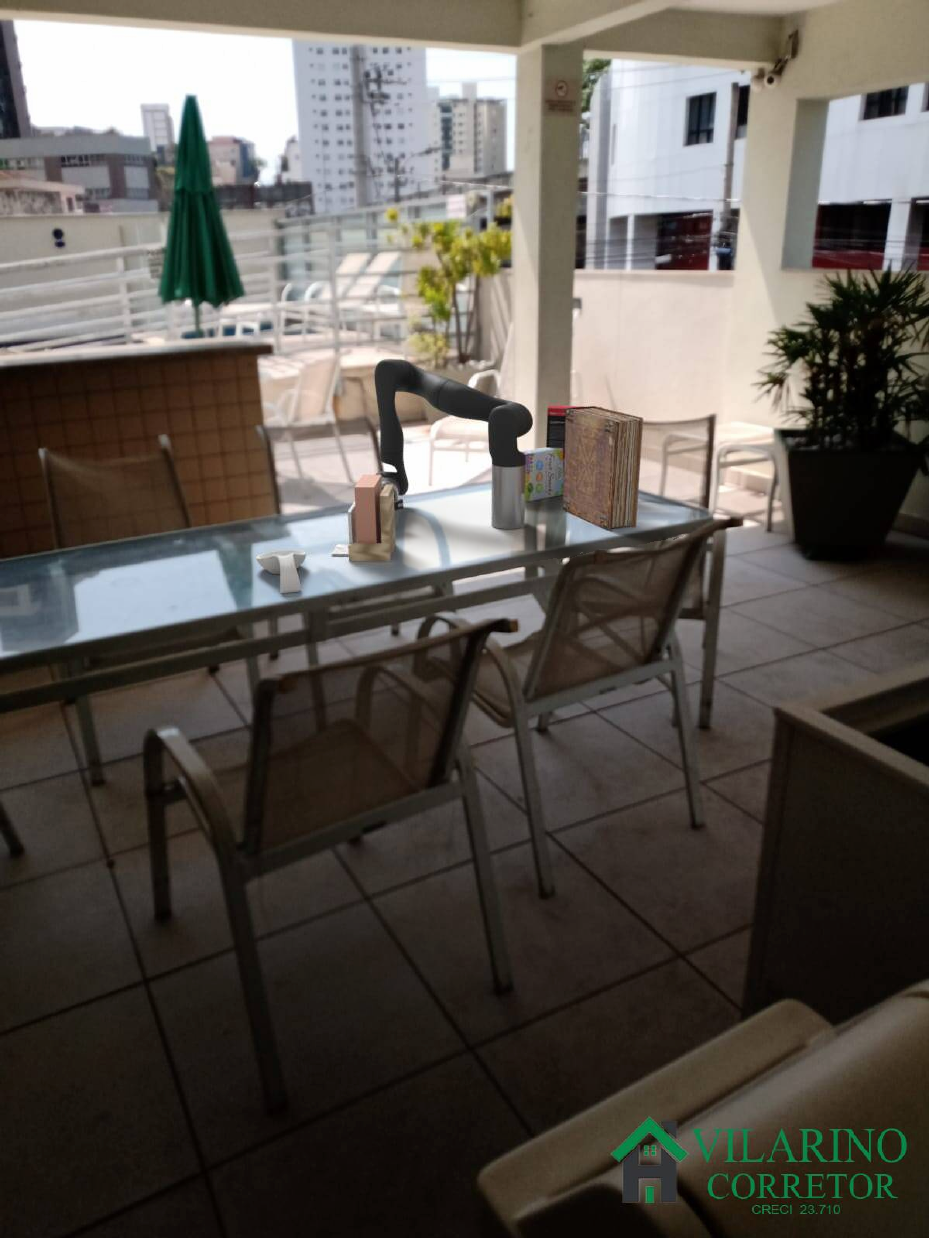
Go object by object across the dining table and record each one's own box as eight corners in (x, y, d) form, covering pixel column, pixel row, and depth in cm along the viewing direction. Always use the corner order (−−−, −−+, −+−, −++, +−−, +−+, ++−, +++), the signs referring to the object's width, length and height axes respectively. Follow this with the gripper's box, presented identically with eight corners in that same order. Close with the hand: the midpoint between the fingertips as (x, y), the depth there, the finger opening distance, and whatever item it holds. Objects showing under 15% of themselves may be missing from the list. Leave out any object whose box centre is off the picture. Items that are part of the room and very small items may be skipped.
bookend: (360, 544, 234) (358, 499, 230) (353, 558, 223) (350, 511, 218) (338, 544, 234) (335, 499, 230) (330, 558, 223) (327, 511, 219)
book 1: (384, 542, 236) (381, 474, 230) (377, 558, 223) (374, 487, 217) (366, 542, 236) (362, 474, 230) (358, 558, 223) (354, 487, 217)
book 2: (636, 527, 248) (643, 418, 237) (608, 531, 245) (614, 420, 234) (588, 506, 270) (593, 405, 259) (562, 510, 267) (565, 407, 256)
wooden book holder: (395, 545, 234) (393, 484, 228) (389, 561, 221) (386, 497, 215) (357, 544, 234) (354, 484, 228) (348, 561, 221) (345, 497, 215)
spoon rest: (255, 565, 219) (252, 537, 216) (303, 560, 222) (301, 533, 220) (266, 597, 198) (263, 566, 195) (319, 591, 201) (316, 560, 199)
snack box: (556, 491, 288) (557, 444, 283) (567, 494, 284) (569, 447, 279) (503, 501, 277) (504, 452, 272) (515, 504, 273) (515, 455, 267)
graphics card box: (598, 491, 288) (603, 405, 278) (598, 496, 281) (602, 408, 271) (545, 489, 290) (548, 404, 281) (543, 494, 284) (546, 407, 274)
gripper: (360, 483, 253) (351, 498, 237) (407, 483, 253) (401, 498, 236) (361, 509, 256) (353, 525, 240) (408, 509, 255) (402, 525, 239)
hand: (377, 512), depth 238 cm, fingers closed
